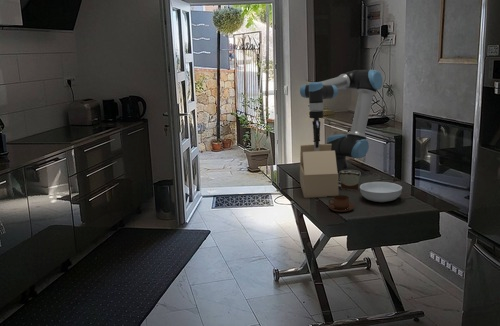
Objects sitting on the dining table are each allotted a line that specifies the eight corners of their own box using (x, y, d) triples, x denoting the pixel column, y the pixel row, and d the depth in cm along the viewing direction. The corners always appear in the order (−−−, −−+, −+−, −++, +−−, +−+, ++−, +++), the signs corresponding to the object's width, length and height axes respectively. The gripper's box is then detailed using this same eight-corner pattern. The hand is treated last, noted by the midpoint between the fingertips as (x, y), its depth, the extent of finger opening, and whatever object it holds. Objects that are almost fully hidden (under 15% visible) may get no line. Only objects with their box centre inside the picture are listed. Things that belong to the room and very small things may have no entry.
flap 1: (330, 162, 277) (330, 161, 277) (331, 144, 267) (331, 143, 267) (300, 163, 277) (300, 162, 278) (300, 145, 268) (300, 145, 268)
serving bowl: (410, 200, 240) (411, 187, 238) (380, 209, 230) (380, 195, 228) (380, 191, 257) (380, 179, 256) (350, 198, 248) (350, 185, 246)
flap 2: (334, 151, 256) (334, 150, 255) (337, 174, 249) (337, 173, 249) (302, 152, 256) (302, 151, 256) (304, 175, 250) (304, 175, 249)
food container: (363, 187, 266) (363, 170, 263) (360, 190, 260) (360, 172, 258) (341, 186, 271) (341, 168, 268) (338, 189, 265) (338, 171, 263)
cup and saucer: (331, 214, 226) (330, 201, 225) (326, 206, 238) (326, 194, 236) (356, 213, 226) (356, 200, 225) (351, 205, 238) (351, 193, 236)
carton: (331, 182, 279) (330, 162, 277) (338, 196, 252) (338, 174, 249) (300, 183, 280) (299, 163, 277) (304, 197, 253) (303, 175, 250)
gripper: (308, 110, 269) (308, 151, 273) (310, 111, 256) (311, 155, 260) (321, 109, 268) (322, 151, 272) (324, 111, 256) (325, 154, 260)
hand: (316, 153), depth 266 cm, fingers closed
